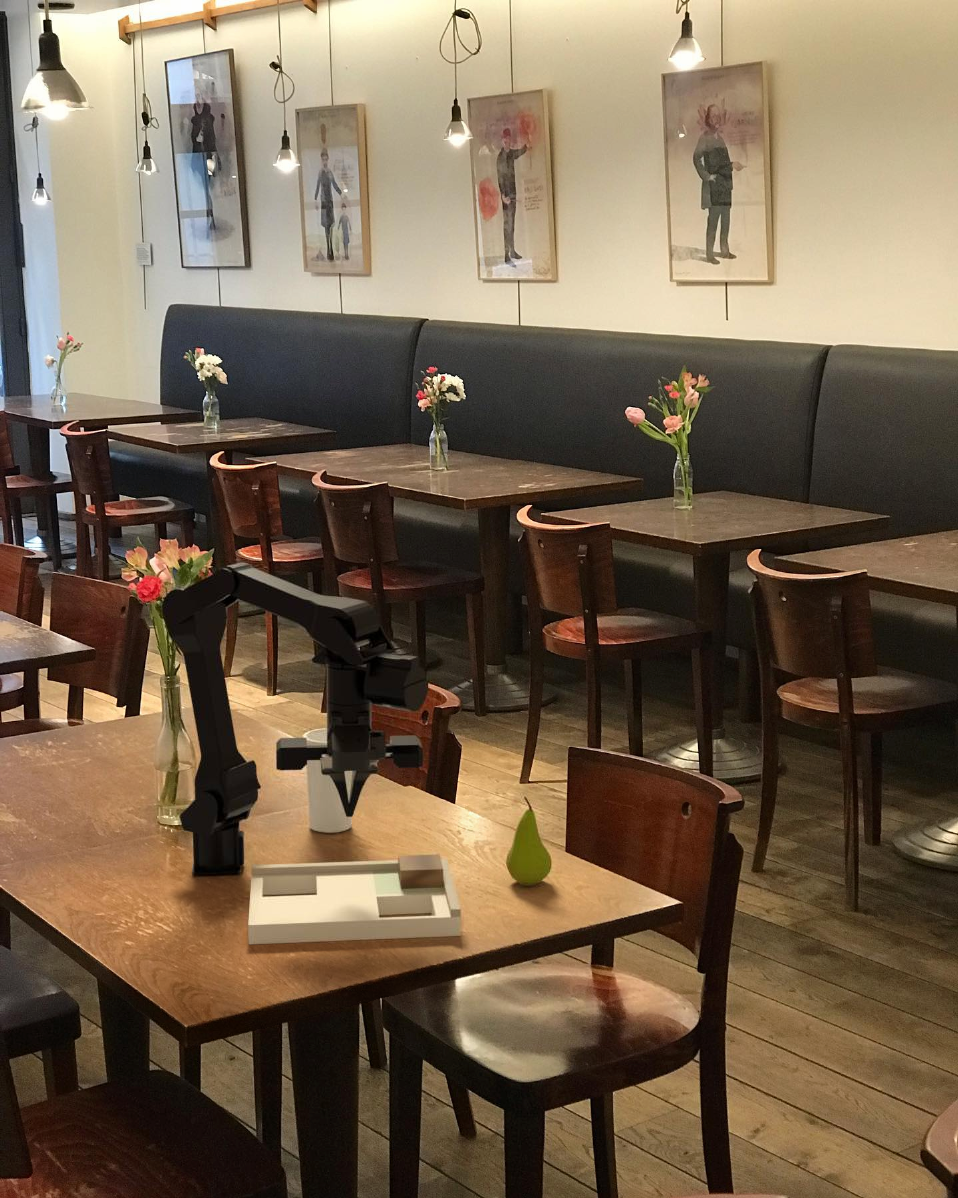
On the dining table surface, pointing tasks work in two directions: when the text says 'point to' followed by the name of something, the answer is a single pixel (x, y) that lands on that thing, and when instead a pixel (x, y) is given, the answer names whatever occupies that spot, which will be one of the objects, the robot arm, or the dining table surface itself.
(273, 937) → the box
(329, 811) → the cup
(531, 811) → the fruit
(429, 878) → the walnut block
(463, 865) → the dining table surface
